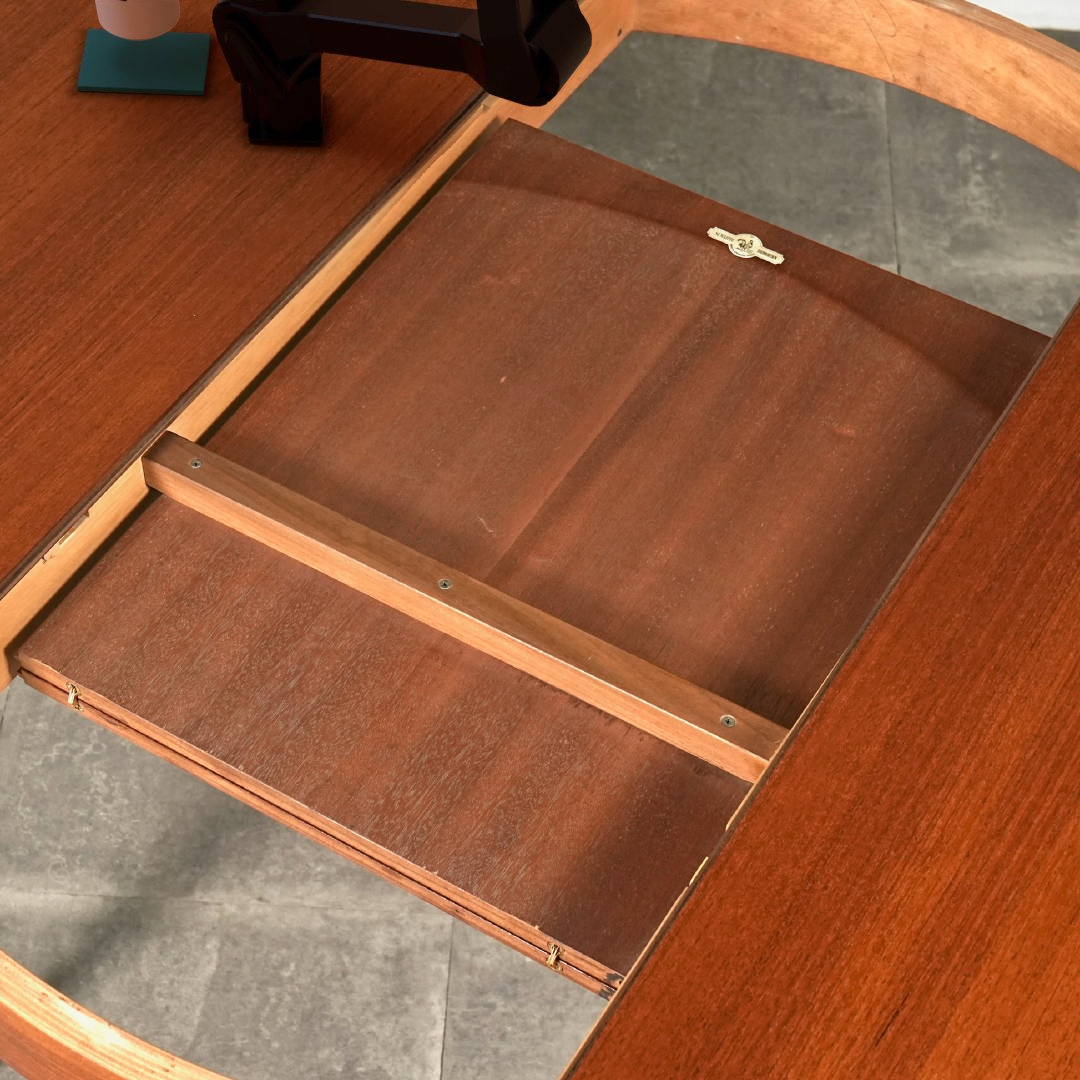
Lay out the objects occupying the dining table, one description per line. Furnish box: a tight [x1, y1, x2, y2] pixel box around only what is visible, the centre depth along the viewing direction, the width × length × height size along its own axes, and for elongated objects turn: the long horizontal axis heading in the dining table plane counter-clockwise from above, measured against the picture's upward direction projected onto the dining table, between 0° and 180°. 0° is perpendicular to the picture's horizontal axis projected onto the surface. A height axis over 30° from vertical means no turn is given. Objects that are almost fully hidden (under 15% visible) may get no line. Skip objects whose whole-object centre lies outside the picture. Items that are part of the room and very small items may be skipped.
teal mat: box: [76, 28, 212, 97], centre depth 143 cm, size 11×8×1 cm
